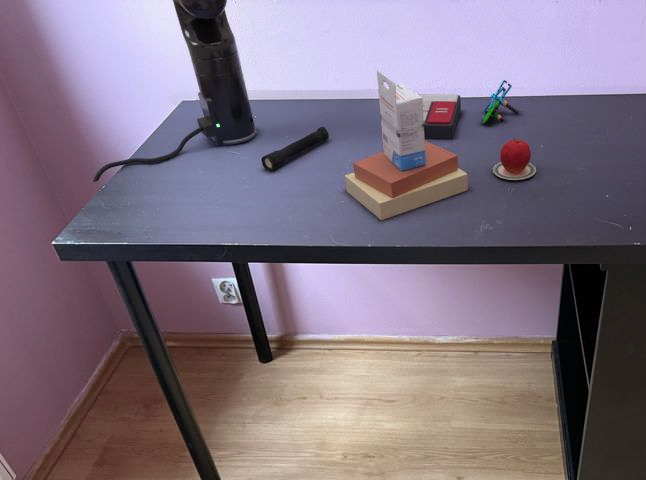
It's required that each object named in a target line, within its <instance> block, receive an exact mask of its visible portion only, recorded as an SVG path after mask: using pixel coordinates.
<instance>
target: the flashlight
mask: <svg viewBox="0 0 646 480" xmlns="http://www.w3.org/2000/svg"><path fill="white" fill-rule="evenodd" d="M328 140H329V132H328V130H327V129H326V127H325V126H320V127H318V128H317V129H316V130H315V131H313V132H311V133H310V134H307V135H305V136H303V137H302V138H300V139H298V140H297V141H294V142H292V143H290V144H288V145H286V146H285V147H283V148H281V149H278V150H274V151H272V152H270V153H267V154H265V155H263V156H262V157H261V164H262V166H263V168H264V169H265V170H266V171H268V172H272V171H274V170H275V169H277V168H278V167H280V166H282V165H283V164H284V163H286V161H287V160H290V159H292V158H294V157H296V156H297V155H299V154H301V153H303V152H305V151H307V150H308V149H310V148H313V147H314V146H316V145H318V144H320V143H321V142H326V141H328Z"/></svg>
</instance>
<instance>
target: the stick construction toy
mask: <svg viewBox="0 0 646 480" xmlns="http://www.w3.org/2000/svg"><path fill="white" fill-rule="evenodd" d="M504 84H507V86H508V88H505V87H504ZM512 87H513V85H512V84H511V83H508V81H507V80H506V79H502V82H501V83H500V85H499V87H498V89H497V90H496V92H495V93H494V92H493V93H491V95H490V97H491V100H490V101H489V102H488V104H487V105H486V107H485V108H484V110H483V112H484V113H485V114H486V115H485V117H484V118H483V121H482V123H483V124H487V123H488V122H489V121H490V120H492V118H495V119H497V120H498V121H501V122H504V120H505V118H503V117H502V115H501V114H499V113H498V112H497V111H498V110H499V108H500V106H502V107H503V108H507V109H508V110H510V111H511V112H512V113H514V114H515V115H518V114H519V112H520V111H519V110H518V109H516V108H515V107H514V106H512V105H511V104H510V103H508V101H507V100H506V99H504V98H505V97H506V95H507V94H508V92H509V91H510V90H511V88H512ZM499 95H500V97H499ZM495 101H497V102H495ZM487 110H488V111H487Z"/></svg>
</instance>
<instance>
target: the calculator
mask: <svg viewBox="0 0 646 480" xmlns="http://www.w3.org/2000/svg"><path fill="white" fill-rule="evenodd" d="M417 94H418V95H419V96H420V97H422V98H423V120H424V139H437V140H439V139H440V140H441V139H442V140H451V139H453V137H454V134H455V131H456V129H457V128H456V127H457V124H458V121H459V118H460V115H461V111H462V109H461V107H462V105H461V101H462V100H461V99H462V97H461V95H460V94H455V93H454V94H452V93H442V94H441V93H417Z"/></svg>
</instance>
